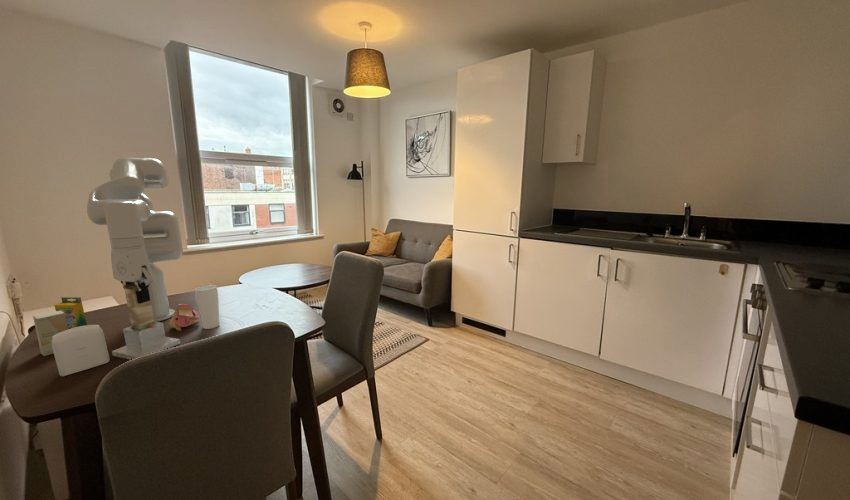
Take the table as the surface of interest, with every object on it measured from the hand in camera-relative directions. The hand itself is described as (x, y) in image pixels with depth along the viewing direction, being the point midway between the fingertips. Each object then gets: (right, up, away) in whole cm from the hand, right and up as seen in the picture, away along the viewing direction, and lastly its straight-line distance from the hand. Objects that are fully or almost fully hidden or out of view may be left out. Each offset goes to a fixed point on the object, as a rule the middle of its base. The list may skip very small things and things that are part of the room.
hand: (138, 300), depth 102 cm
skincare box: (-28, -16, +3) cm, 33 cm away
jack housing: (0, -16, +3) cm, 16 cm away
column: (0, -8, +2) cm, 9 cm away
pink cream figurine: (0, -13, +21) cm, 24 cm away
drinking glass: (+10, -13, +20) cm, 25 cm away
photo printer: (-9, -18, -7) cm, 22 cm away
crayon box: (-40, -13, +19) cm, 46 cm away
